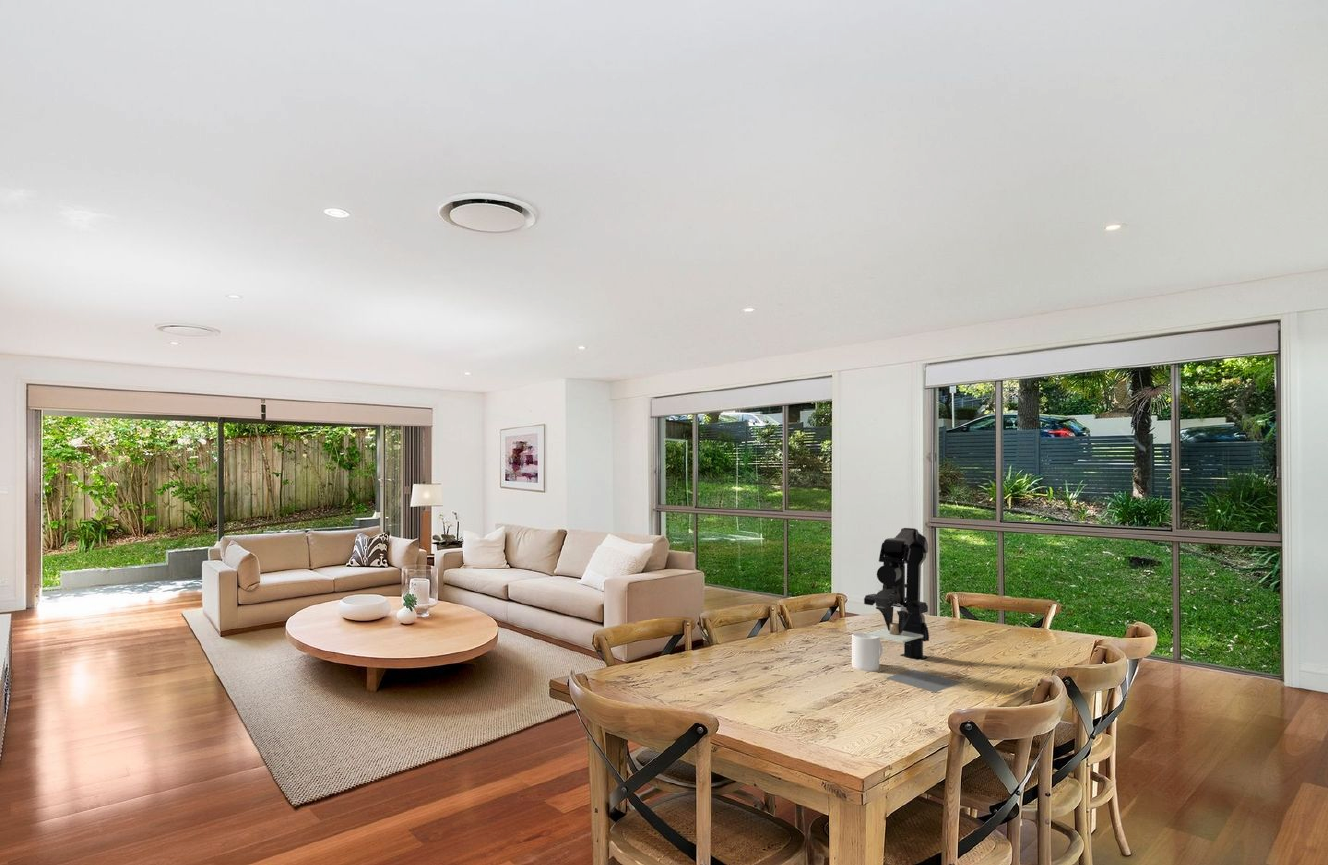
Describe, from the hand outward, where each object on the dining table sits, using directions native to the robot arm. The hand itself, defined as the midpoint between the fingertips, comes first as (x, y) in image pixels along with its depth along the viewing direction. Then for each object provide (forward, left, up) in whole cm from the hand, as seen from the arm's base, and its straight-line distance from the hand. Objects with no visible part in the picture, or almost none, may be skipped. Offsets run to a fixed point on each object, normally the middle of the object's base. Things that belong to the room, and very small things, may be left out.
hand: (895, 631), depth 211 cm
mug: (+1, -9, -13) cm, 16 cm away
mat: (0, +9, -13) cm, 16 cm away
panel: (0, 0, -1) cm, 1 cm away
